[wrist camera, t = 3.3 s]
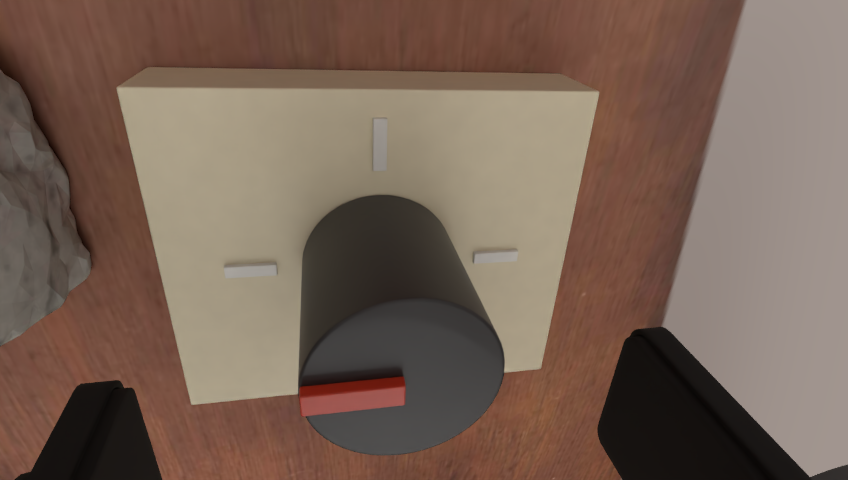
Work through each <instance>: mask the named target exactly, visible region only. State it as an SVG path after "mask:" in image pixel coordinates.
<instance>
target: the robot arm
mask: <svg viewBox="0 0 848 480" xmlns="http://www.w3.org/2000/svg"><path fill="white" fill-rule="evenodd" d="M598 437H599V440H600V442H601V444H602V446H603V448H604V450H605V451H606V453H607V455H608V456H609V458H610V460H611V461H612V463H613V465H614V466H615V468H616V470H617V471H618V473H619V475H620V476H621V478H622V480H812V479H811V478H810V477H809V476H808V475H807V474H806V473H805V472H804V471H803V470H802V469H801V468H800V467H799V466H798V465H797V464H796V462H795V461H794V460H793V459H792V458H791V457H790V456H789V455H788V454H787V453H786V452H785V451H784V450H783V449H782V448H781V447H780V446H779V445H778V444H777V443H776V442H775V441H774V440H773V438H772V437H771V436H770V435H769V434H768V433H767V432H766V431H765V430H764V429H763V428H762V427H761V426H760V425H759V424H758V423H757V422H756V421H755V420H754V419H753V418H752V417H751V416H750V415H749V414H748V412H747V411H746V410H745V409H744V408H743V407H742V406H741V405H740V404H739V403H738V402H737V401H736V400H735V399H734V398H733V397H732V396H731V395H730V394H729V393H728V392H727V391H726V390H725V389H724V388H723V387H722V386H721V384H720V383H719V382H718V381H717V380H716V379H715V378H714V377H713V376H712V375H711V374H710V373H709V372H708V371H707V370H706V369H705V368H704V367H703V366H702V365H701V364H700V363H699V361H698V360H697V359H696V358H695V357H694V356H693V355H692V354H690V352H689V351H688V350H687V349H686V348H685V347H684V346H683V345H682V344H681V343H680V342H679V341H678V340H677V339H676V338H675V336H674V335H673V334H672V333H671V332H669V331H668V330H667V329H666V328H663V327H656V328H645V329H637V330H634V331H633V332H632V333H631V336H630V337H628V338H627V339H626V340H625V342H624V344H623V347H622V351H621V354H620V357H619V360H618V363H617V367H616V370H615V373H614V376H613V379H612V382H611V386H610V389H609V392H608V395H607V398H606V401H605V405H604V408H603V411H602V414H601V417H600V421H599V424H598ZM15 480H162V477H161V474H160V471H159V468H158V465H157V461H156V458H155V455H154V452H153V448H152V445H151V442H150V439H149V436H148V432H147V429H146V426H145V423H144V420H143V416H142V413H141V410H140V407H139V403H138V400H137V397H136V394H135V391H134V389H133V388H124V387H123V385H122V383H121V382H120V381H117V380H115V381H105V382H95V383H85V384H80V385H78V386H77V387H76V389H75V390H74V391H73V393H72V395H71V397H70V399H69V401H68V403H67V405H66V407H65V408H64V410H63V412H62V414H61V416H60V418H59V420H58V422H57V423H56V425H55V427H54V429H53V431H52V433H51V435H50V437H49V439H48V440H47V442H46V444H45V446H44V448H43V450H42V452H41V454H40V456H39V457H38V459H37V461H36V463H35V465H34V467H33V469H32V471H31V472H28V473H24V474H21V475H20V476H18V477H17V478H16V479H15Z"/></svg>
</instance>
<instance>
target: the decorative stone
mask: <svg viewBox="0 0 848 480" xmlns="http://www.w3.org/2000/svg"><path fill="white" fill-rule="evenodd" d="M69 206H70V189H69V180H68V176H67V173H66V170H65V168H64V167H63V166H62V165H61V163H60V161H59V160H58V158H57V157H56V155H55V154H54V152H53V150H52V149H51V147H49V144H48V141H47V139H46V137H45V136H44V134H43V133H42V131H41V129H40V128H39V126H38V125H37V123H36V122H35V120H34V118H33V114H32V109H31V105H30V103H29V101H28V99H27V97H26V95H25V93H24V91H23V90H22V88H21V86H20V84H19V83H18V82H16V81H15V80H13V79H12V78H10V77H8V76H6V75H5V74H3V72H2V71H1V69H0V346H1V345H3V344H5V343H7V342H9V341H11V340H13V339H14V338H16V337H18V336H19V335H21V334H23V333H24V332H25V331H26V330H27V329H28V328H29V327H31V326H32V325H34V324H35V323H36V322H38V321H39V320H41V319H42V318H43V317H45V316H47V315H48V314H50V313H52V312H53V311H55V310H56V309H58V308H60V307H61V306H62V304H63V303H64V301H65V300H66V298H67V296H68V294H69V292H70V291H71V290H72V289H74V288H75V287H76V286H78V285H79V284H80V283H82V282H83V281H84V280H86V278H87V277H88V275H89V274H90V271H91V258H90V253H89V252H88V250H87V249H86V248H85V247H84V246H83V244H82V241H81V238H80V237H79V235H78V233H77V228H76V220H75V217H74V215H73V214H72V212H71V210H70V209H69Z"/></svg>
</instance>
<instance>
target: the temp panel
mask: <svg viewBox="0 0 848 480" xmlns="http://www.w3.org/2000/svg"><path fill="white" fill-rule="evenodd" d="M117 93H118V97H119V101H120V106H121V110H122V114H123V118H124V123H125V127H126V131H127V135H128V140H129V144H130V148H131V152H132V156H133V161H134V165H135V169H136V173H137V178H138V182H139V186H140V190H141V195H142V199H143V203H144V207H145V211H146V216H147V220H148V224H149V228H150V233H151V237H152V241H153V245H154V250H155V254H156V258H157V262H158V266H159V271H160V275H161V279H162V283H163V288H164V292H165V296H166V300H167V305H168V309H169V313H170V317H171V321H172V326H173V330H174V334H175V338H176V343H177V347H178V351H179V355H180V360H181V364H182V368H183V372H184V376H185V381H186V385H187V389H188V393H189V398H190V402H191V405H195V404H205V403H215V402H224V401H234V400H244V399H254V398H263V397H273V396H283V395H292V394H298V369H299V340H300V310H301V280H302V258H303V251H304V248H305V245H306V242H307V240H308V238H309V236H310V234H311V232H312V231H313V229H314V228H315V226H316V225H317V224H318V223H319V222H320V221H321V220H322V219H323V218H324V217H325V216H326V215H327V214H328V213H330V212H331V211H332V210H334V209H335V208H337V207H339V206H340V205H342V204H345V203H347V202H349V201H351V200H354V199H357V198H361V197H366V196H372V195H392V196H399V197H403V198H406V199H410V200H412V201H414V202H417V203H419V204H421V205H422V206H424V207H426V208H427V209H428V210H430V211H431V212H432V213H433V214H434V215H435V216H436V217H437V218H438V219H439V220H440V221H441V223H442V224H443V226H444V227H445V229H446V231H447V233H448V235H449V237H450V239H451V241H452V243H453V245H454V248H455V250H456V252H457V254H458V256H459V258H460V260H461V262H462V264H463V266H464V268H465V270H466V272H467V274H468V276H469V278H470V280H471V282H472V284H473V286H474V288H475V290H476V292H477V294H478V296H479V298H480V300H481V302H482V304H483V306H484V308H485V310H486V312H487V314H488V316H489V318H490V321H491V323H492V325H493V327H494V329H495V331H496V333H497V335H498V337H499V339H500V341H501V343H502V347H503V351H504V358H505V367H504V373H506V372H515V371H525V370H535V369H541V365H542V360H543V356H544V351H545V346H546V342H547V337H548V332H549V328H550V323H551V318H552V313H553V309H554V304H555V299H556V295H557V290H558V285H559V280H560V276H561V271H562V266H563V262H564V257H565V252H566V247H567V243H568V238H569V233H570V229H571V224H572V219H573V215H574V210H575V205H576V200H577V196H578V191H579V186H580V182H581V177H582V172H583V167H584V163H585V158H586V153H587V149H588V144H589V139H590V134H591V130H592V125H593V120H594V116H595V111H596V106H597V102H598V97H599V91H597V90H595V89H593V88H591V87H588V86H586V85H584V84H582V83H580V82H578V81H575V80H573V79H571V78H569V77H567V76H565V75H562V74H551V73H489V72H427V71H365V70H302V69H240V68H178V67H147V68H145V69H144V70H142V71H141V72H139V73H138V74H136V75H134V76H133V77H131V78H130V79H128V80H127V81H125V82H124V83H122V84H121V85H119V86H118V87H117Z"/></svg>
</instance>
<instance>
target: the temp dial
mask: <svg viewBox="0 0 848 480" xmlns="http://www.w3.org/2000/svg"><path fill="white" fill-rule="evenodd" d="M504 367H505V358H504V351H503V347H502V343H501V341H500V339H499V337H498V335H497V333H496V331H495V329H494V327H493V325H492V323H491V321H490V318H489V316H488V314H487V312H486V310H485V308H484V306H483V304H482V302H481V300H480V298H479V296H478V294H477V292H476V290H475V288H474V286H473V284H472V282H471V280H470V278H469V276H468V274H467V272H466V270H465V268H464V266H463V264H462V262H461V260H460V258H459V256H458V254H457V252H456V250H455V248H454V245H453V243H452V241H451V239H450V237H449V235H448V233H447V231H446V229H445V227H444V226H443V224H442V223H441V221H440V220H439V219H438V218H437V217H436V216H435V215H434V214H433V213H432V212H431V211H430V210H428V209H427V208H426V207H424V206H422V205H421V204H419V203H417V202H414V201H412V200H410V199H406V198H403V197H399V196H392V195H372V196H366V197H361V198H357V199H354V200H351V201H349V202H347V203H345V204H342V205H340V206H339V207H337V208H335V209H334V210H332V211H331V212H330V213H328V214H327V215H326V216H325V217H324V218H323V219H322V220H321V221H320V222H319V223H318V224H317V225H316V226H315V228H314V229H313V231H312V232H311V234H310V236H309V238H308V240H307V242H306V245H305V248H304V251H303V258H302V280H301V310H300V340H299V369H298V396H299V401H300V412H301V416H302V417H304V416H306V418H307V420H308V421H309V423H310V424H311V425H312V427H313V428H314V429H315V430H316V431H317V432H318V433H319V434H320V435H322V436H323V437H324V438H325V439H327V440H329V441H330V442H332V443H333V444H336V445H338V446H340V447H342V448H345V449H348V450H351V451H354V452H358V453H363V454H370V455H400V454H407V453H413V452H417V451H421V450H425V449H428V448H431V447H434V446H436V445H439V444H441V443H443V442H445V441H448V440H450V439H451V438H453V437H455V436H457V435H458V434H460V433H461V432H463V431H464V430H466V429H467V428H469V427H470V426H471V425H472V424H473V423H475V422H476V421H477V420H478V419H479V418H480V417H481V416H482V415H483V414H484V413H485V412H486V410H487V409H488V408H489V406H490V405H491V404H492V402H493V401H494V399H495V397H496V395H497V394H498V391H499V389H500V386H501V384H502V380H503V376H504Z"/></svg>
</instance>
